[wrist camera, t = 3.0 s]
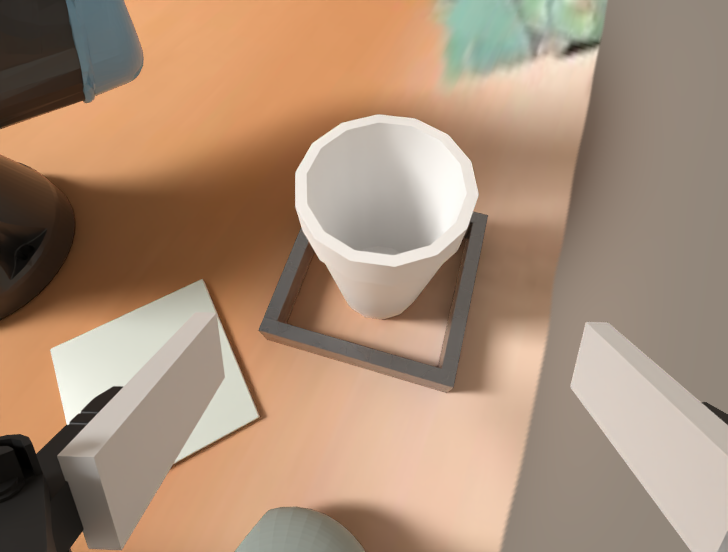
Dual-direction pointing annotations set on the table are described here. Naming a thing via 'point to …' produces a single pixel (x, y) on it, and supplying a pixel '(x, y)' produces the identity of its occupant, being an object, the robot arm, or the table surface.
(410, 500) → the table surface
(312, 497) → the table surface
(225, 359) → the pad
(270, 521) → the air freshener
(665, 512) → the robot arm
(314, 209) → the foam cup
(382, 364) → the grey square frame
